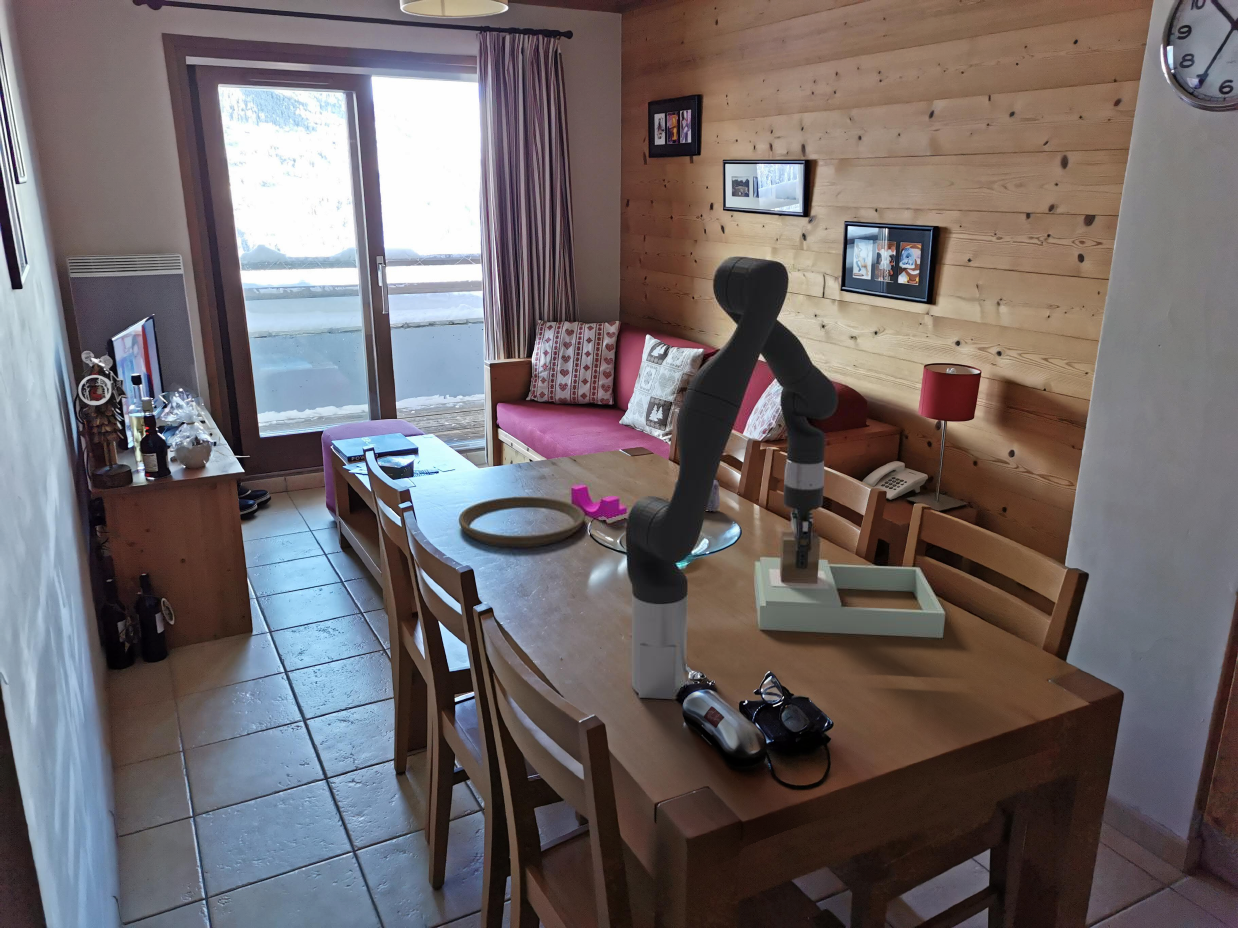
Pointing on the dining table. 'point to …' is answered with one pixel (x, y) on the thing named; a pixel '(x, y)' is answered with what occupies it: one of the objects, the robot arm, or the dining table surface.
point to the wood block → (789, 560)
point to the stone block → (712, 497)
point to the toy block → (596, 504)
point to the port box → (822, 604)
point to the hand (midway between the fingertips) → (799, 559)
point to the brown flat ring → (512, 502)
